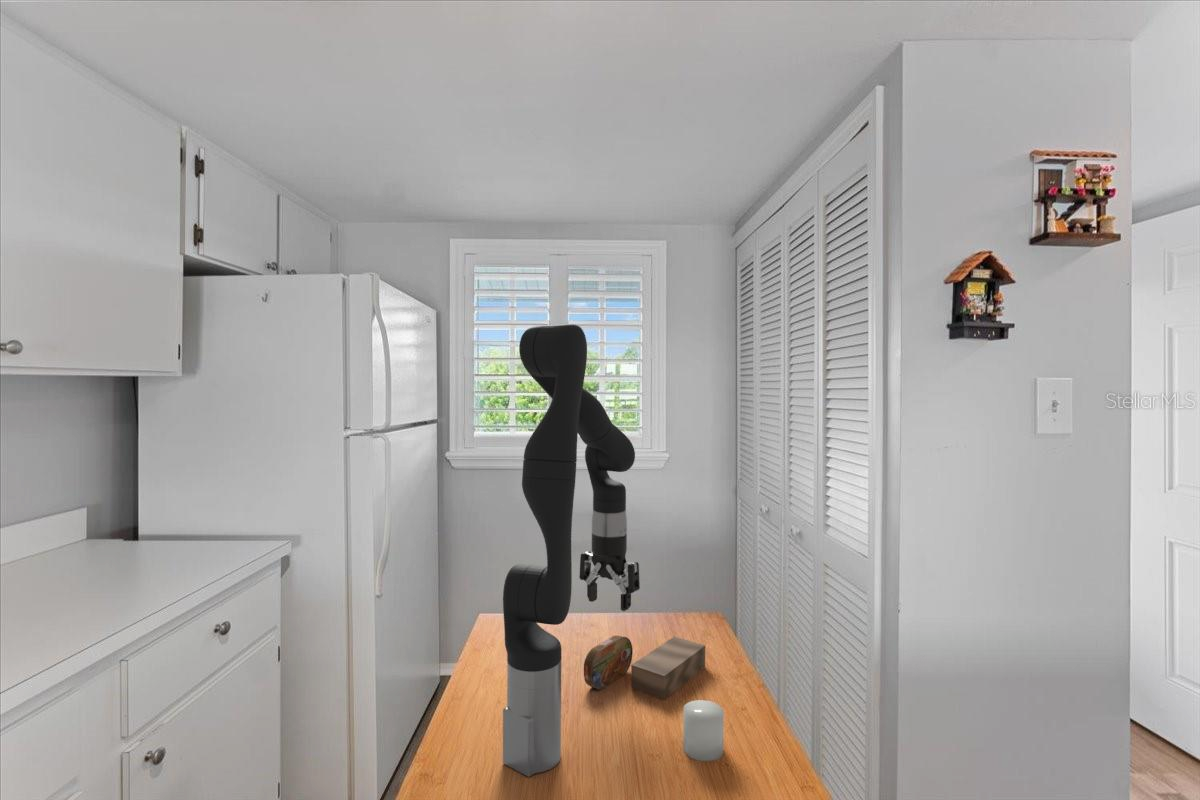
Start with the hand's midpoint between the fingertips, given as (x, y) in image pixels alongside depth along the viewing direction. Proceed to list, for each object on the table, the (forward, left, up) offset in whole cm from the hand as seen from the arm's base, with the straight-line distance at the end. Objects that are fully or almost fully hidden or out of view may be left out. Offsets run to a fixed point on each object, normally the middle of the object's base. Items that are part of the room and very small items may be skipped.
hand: (608, 605), depth 135 cm
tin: (0, 0, -17) cm, 17 cm away
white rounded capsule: (-10, -28, -16) cm, 34 cm away
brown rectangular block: (+9, -10, -16) cm, 21 cm away
